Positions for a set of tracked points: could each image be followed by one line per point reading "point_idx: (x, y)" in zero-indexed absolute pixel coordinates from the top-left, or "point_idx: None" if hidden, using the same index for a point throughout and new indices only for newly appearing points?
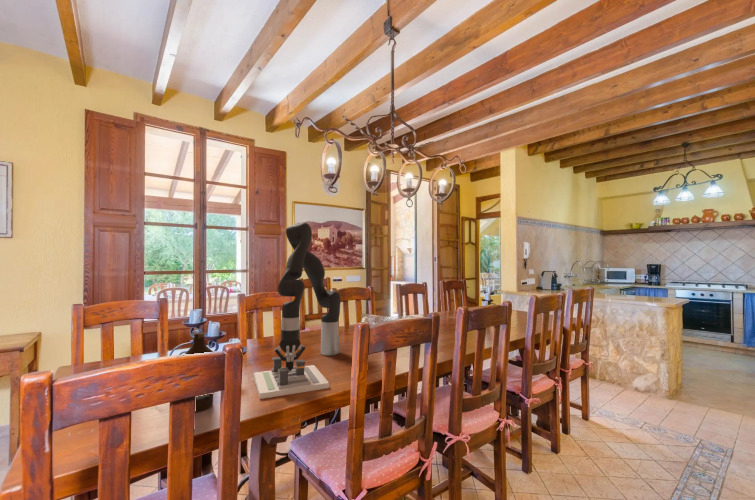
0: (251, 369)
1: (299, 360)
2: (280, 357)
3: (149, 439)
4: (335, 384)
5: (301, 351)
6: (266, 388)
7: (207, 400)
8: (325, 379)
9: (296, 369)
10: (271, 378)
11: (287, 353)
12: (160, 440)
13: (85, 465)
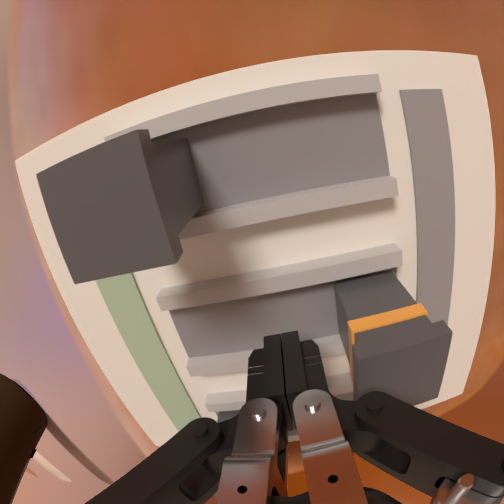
0: (17, 17)
1: (403, 368)
2: (186, 486)
3: (46, 465)
4: (489, 342)
5: (441, 482)
6: (166, 419)
7: (38, 441)
8: (470, 359)
9: (347, 343)
10: (149, 303)
11: None
12: (63, 474)
13: (33, 473)
